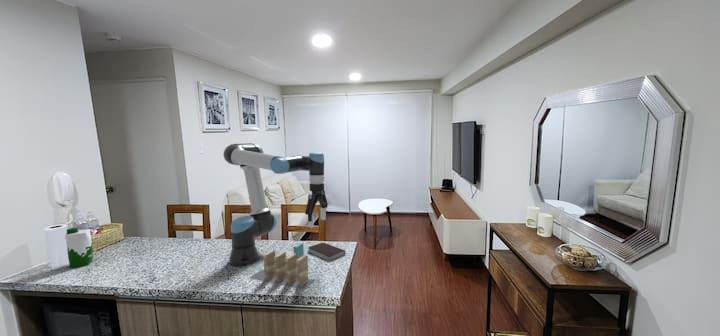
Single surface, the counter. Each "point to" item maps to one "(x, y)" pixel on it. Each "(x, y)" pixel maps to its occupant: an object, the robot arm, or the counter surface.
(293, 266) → the light wood flat block
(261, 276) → the runner mat
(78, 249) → the milk carton
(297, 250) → the tile
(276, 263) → the beige wooden block
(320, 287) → the counter surface
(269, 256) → the light wood flat block
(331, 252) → the book
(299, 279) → the tile
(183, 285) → the counter surface
